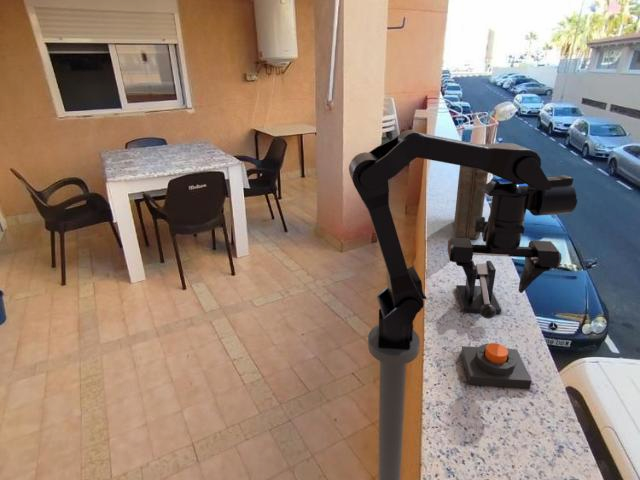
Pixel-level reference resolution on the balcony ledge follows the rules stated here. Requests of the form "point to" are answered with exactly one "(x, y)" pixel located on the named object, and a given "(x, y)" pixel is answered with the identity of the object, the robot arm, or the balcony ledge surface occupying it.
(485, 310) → the lever
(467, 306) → the switch mount
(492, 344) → the button
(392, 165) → the robot arm
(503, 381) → the control block
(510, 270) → the balcony ledge surface
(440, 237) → the balcony ledge surface
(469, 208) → the brown upright rectangular block
